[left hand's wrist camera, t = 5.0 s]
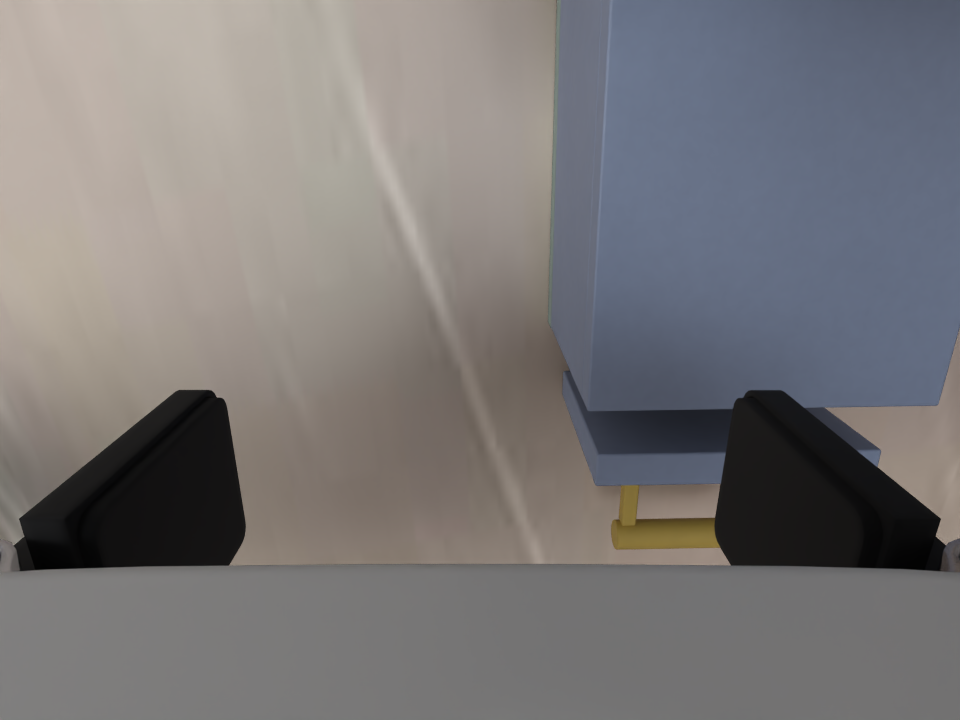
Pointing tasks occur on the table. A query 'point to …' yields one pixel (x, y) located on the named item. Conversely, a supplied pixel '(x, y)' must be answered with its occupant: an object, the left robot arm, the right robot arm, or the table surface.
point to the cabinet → (756, 201)
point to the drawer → (665, 461)
